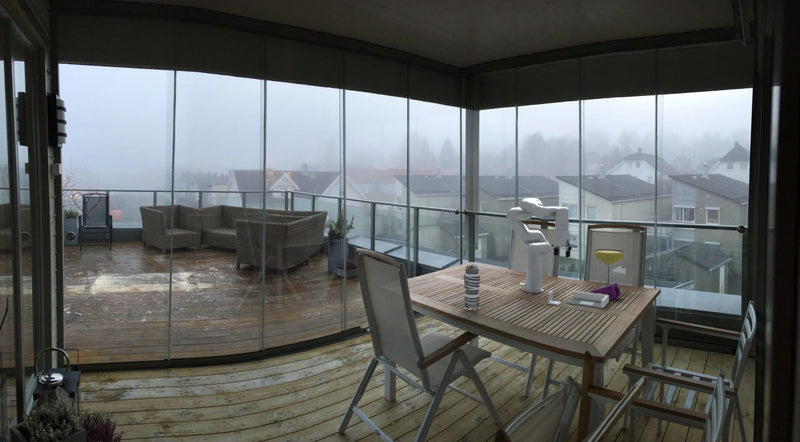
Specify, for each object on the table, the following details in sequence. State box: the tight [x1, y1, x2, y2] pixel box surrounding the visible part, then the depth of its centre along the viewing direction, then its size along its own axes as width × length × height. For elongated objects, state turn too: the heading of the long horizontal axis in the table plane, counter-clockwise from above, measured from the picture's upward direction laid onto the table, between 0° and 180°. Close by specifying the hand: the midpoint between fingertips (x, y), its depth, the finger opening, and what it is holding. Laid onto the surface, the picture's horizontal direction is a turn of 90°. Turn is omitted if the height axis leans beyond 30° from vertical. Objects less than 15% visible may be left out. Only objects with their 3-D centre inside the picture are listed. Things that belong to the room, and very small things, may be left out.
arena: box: [566, 290, 610, 310], centre depth 271 cm, size 20×15×5 cm
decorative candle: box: [463, 264, 481, 309], centre depth 262 cm, size 9×9×25 cm
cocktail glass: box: [593, 248, 625, 289], centre depth 307 cm, size 18×18×25 cm
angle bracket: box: [547, 290, 562, 306], centre depth 271 cm, size 6×6×7 cm
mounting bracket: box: [586, 282, 621, 302], centre depth 284 cm, size 10×8×18 cm
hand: (561, 256), depth 278 cm, fingers open, 9 cm apart
